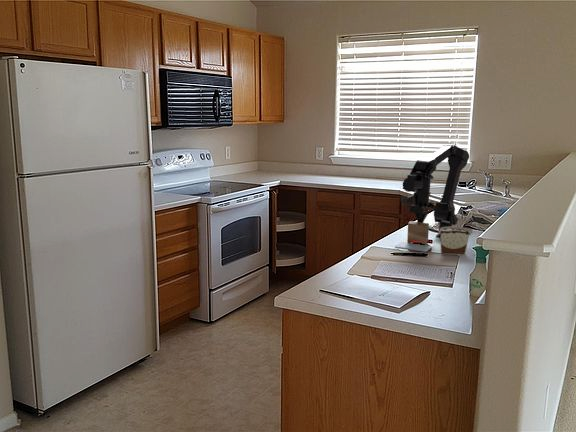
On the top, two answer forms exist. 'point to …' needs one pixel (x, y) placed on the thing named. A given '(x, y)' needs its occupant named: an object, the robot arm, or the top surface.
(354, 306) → the top surface
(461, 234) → the food container
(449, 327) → the top surface
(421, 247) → the board
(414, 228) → the wooden block
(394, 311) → the top surface
